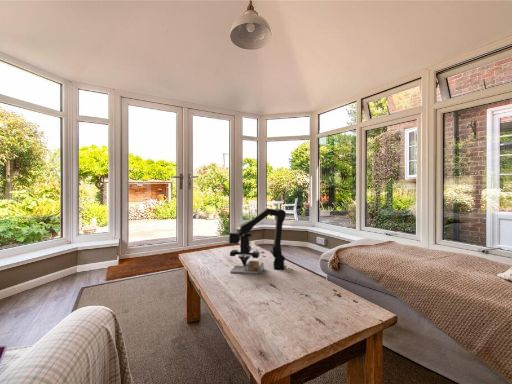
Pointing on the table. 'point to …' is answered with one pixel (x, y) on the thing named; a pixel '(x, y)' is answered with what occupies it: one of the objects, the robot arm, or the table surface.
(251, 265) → the block
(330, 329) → the table surface
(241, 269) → the base
